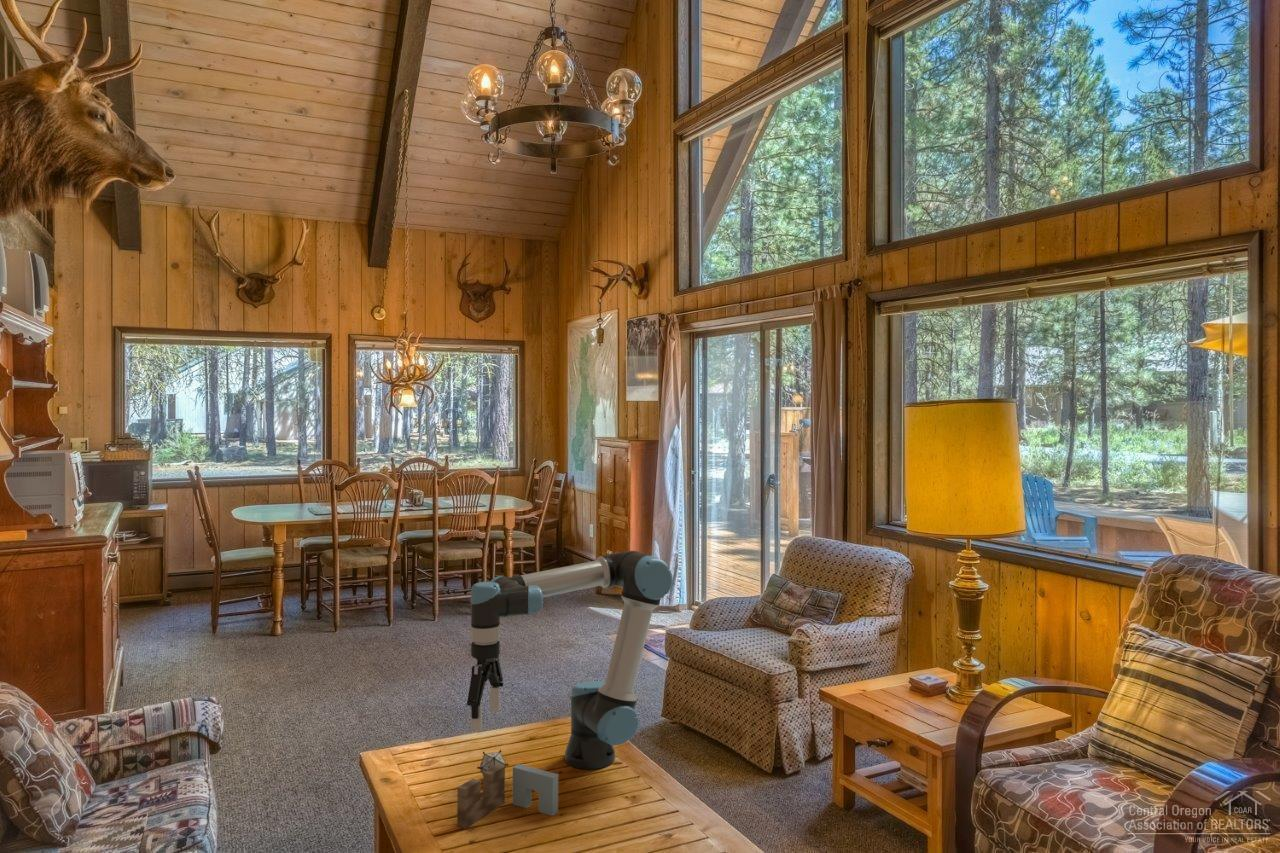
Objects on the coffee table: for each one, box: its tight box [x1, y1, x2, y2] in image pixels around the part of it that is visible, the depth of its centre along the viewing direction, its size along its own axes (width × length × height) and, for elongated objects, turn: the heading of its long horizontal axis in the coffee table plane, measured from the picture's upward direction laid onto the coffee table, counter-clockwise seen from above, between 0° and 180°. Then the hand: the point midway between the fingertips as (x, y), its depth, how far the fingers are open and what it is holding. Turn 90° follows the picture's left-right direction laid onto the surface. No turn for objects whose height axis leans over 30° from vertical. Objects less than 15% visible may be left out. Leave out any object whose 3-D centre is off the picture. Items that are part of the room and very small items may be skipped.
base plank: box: [456, 764, 506, 830], centre depth 220 cm, size 16×2×10 cm, turn 151°
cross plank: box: [512, 763, 559, 817], centre depth 224 cm, size 2×13×10 cm, turn 61°
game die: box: [476, 749, 510, 776], centre depth 240 cm, size 9×8×10 cm
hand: (485, 720), depth 225 cm, fingers open, 13 cm apart
